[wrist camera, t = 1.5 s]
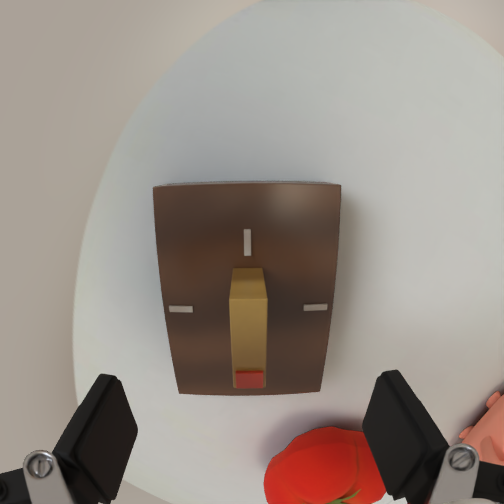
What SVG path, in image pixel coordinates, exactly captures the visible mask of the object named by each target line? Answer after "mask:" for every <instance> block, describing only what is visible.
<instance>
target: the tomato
mask: <svg viewBox="0 0 504 504" xmlns="http://www.w3.org/2000/svg"><path fill="white" fill-rule="evenodd" d="M264 491H265V496H266V500H267V502H268V504H372V503H374V502H376V501H379V500H381V498H382V497H383V496H384V494H385V493H386V489H385V486H384V483H383V481H382V478H381V476H380V473H379V470H378V468H377V465H376V463H375V460H374V458H373V455H372V453H371V450H370V448H369V445H368V443H367V440H366V438H365V435H364V433H363V432H361V431H352V430H344V429H339V428H336V427H331V426H330V427H324V428H318V429H313V430H311V431H309V432H306V433H304V434H302V435H299V436H297V437H296V438H294V440H293V441H292V442H291V443H290V444H289V445H288V446H287V448H286V449H285V450H284V451H282V452H280V453H279V454H277V455H276V456H275V457H273V458H272V460H271V461H270V463H269V465H268V467H267V470H266V473H265V477H264Z"/></svg>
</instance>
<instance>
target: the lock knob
mask: <svg viewBox="0 0 504 504" xmlns="http://www.w3.org/2000/svg"><path fill="white" fill-rule="evenodd" d="M229 309H230V331H231V351H232V370H233V387H234V388H263V387H266V358H267V310H268V298H267V292H266V286H265V280H264V274H263V269H262V268H233V273H232V281H231V289H230V297H229Z"/></svg>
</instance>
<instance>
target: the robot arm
mask: <svg viewBox="0 0 504 504" xmlns="http://www.w3.org/2000/svg"><path fill="white" fill-rule="evenodd" d="M362 429H363V433H364V435H365V438H366V440H367V443H368V445H369V448H370V450H371V453H372V455H373V458H374V460H375V463H376V465H377V468H378V470H379V473H380V476H381V478H382V481H383V483H384V486H385V489H386V491H387V493H388V495H392V496H393V499H394V501H395V500H398V499H401V498H404V497H405V498H406V500H407V503H408V504H504V466H503V465H498V464H493V463H489V462H484V461H480V460H479V454H478V452H477V451H476V449H475V448H474V447H472V446H471V445H468V444H465V443H459V444H455V445H453V446H451V447H450V446H449V445H448V443H447V441H446V440H445V438H444V437H443V435H442V433H441V432H440V430H439V429H438V427H437V426H436V424H435V422H434V421H433V419H432V418H431V416H430V415H429V413H428V412H427V410H426V409H425V407H424V406H423V404H422V403H421V401H420V400H419V399H418V398H417V397H416V395H415V394H414V392H413V391H412V389H411V388H410V386H409V385H408V383H407V382H406V380H405V379H404V377H403V376H402V375H401V373H400V372H399V371H398V370H391V371H385V372H382V374H381V376H379V377H378V378H377V380H376V383H375V387H374V390H373V393H372V396H371V400H370V403H369V406H368V409H367V412H366V415H365V417H364V420H363V423H362ZM137 433H138V427H137V424H136V422H135V419H134V417H133V414H132V411H131V409H130V406H129V403H128V400H127V397H126V395H125V392H124V389H123V386H122V383H121V381H120V380H118V379H117V377H116V376H114V375H107V374H100V375H99V376H98V378H97V379H96V381H95V382H94V384H93V386H92V387H91V389H90V390H89V392H88V394H87V395H86V397H85V399H84V400H83V402H82V403H81V404H80V406H79V407H78V408H77V410H76V412H75V413H74V415H73V417H72V419H71V420H70V422H69V423H68V425H67V427H66V429H65V430H64V432H63V434H62V435H61V437H60V439H59V441H58V443H57V444H56V446H55V448H54V450H53V451H52V453H50V452H48V451H44V450H36V451H33V452H31V453H30V454H28V455H27V456H26V458H25V459H24V462H23V468H21V469H17V470H13V471H9V472H5V473H1V474H0V504H98V502H100V503H103V504H110V503H111V500H115V498H116V496H117V493H118V490H119V487H120V484H121V481H122V478H123V475H124V472H125V469H126V466H127V463H128V460H129V457H130V454H131V451H132V448H133V445H134V442H135V440H136V437H137Z"/></svg>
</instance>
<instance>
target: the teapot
mask: <svg viewBox="0 0 504 504" xmlns="http://www.w3.org/2000/svg"><path fill="white" fill-rule="evenodd" d="M486 406H487V407H488V409H489V410H488V411H487V413H486V414H485V415H484V416H483V417H482V418H481V419H480V420H479V422H478V423H477V424H476V425H475V426H469V427H467V428H466V429H464V430H463V431H462V432H461V434H460V435H459V438H461V439H464V440H463V441H462V443H465V444H468V445H471V446H472V447H474V448H475V449H476V451H477V452H478V454H479V460H480V461H484V462H489V463H493V464H498V465H503V466H504V395H502V396H501V395H500V392H499V391H497V392H495V393H494V394H493V395H492V396H491V397H490V398H489V399H488V401H487V403H486Z"/></svg>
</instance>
